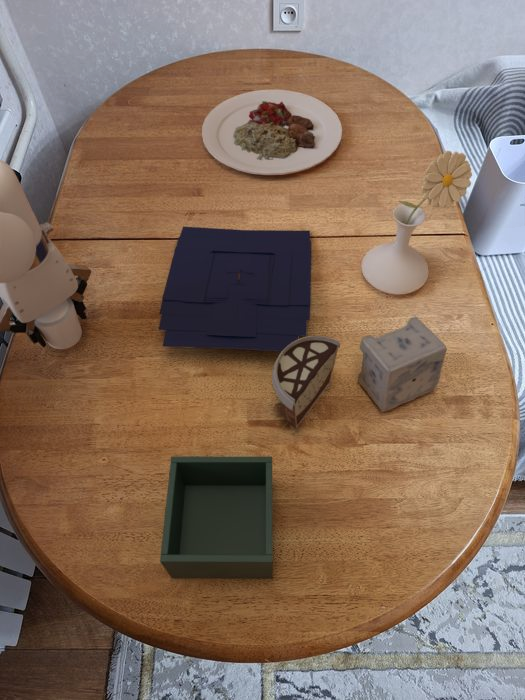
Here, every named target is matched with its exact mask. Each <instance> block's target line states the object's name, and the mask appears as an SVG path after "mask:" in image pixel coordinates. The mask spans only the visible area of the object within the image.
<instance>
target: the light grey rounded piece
mask: <svg viewBox="0 0 525 700" xmlns="http://www.w3.org/2000/svg"><path fill="white" fill-rule="evenodd" d="M35 327H36V328H37V330H38V331H39V332H40V334H41V335H42V337H43V339H44V340H45V342H46V343H47V345H49V346H50V347H52V348H53V349H57V350H66V349H69V348H72V347H74V346H75V345H77V343H79V341H80V340H81V339H82V336H83V329H82V325H81V323H80V320H79V316H78V315H77V313H76V310H75V307H74V304H73V302H72V300H71V298H70V297H69V298H67V299H66V300H64V301H63V302H61V303H60V304H58V305H57V306H55V307H54V308H52V309H50V310H49V311H47V312H46V313H44V314H43V315H41V316H39V317H38V318H36V319H35Z"/></svg>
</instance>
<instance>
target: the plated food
mask: <svg viewBox="0 0 525 700" xmlns="http://www.w3.org/2000/svg"><path fill="white" fill-rule="evenodd" d="M342 135H343V128H342V122H341V120H340V118H339V116H338V115H337V113H336V112H335V111H334V110H333V109H332V108H331V106H329V105H328V104H326V103H325V102H323V101H322V100H320V99H318V98H316V97H314V96H311V95H308V94H305V93H302V92H299V91H293V90H286V89H260V90H258V89H257V90H252V91H247V92H244V93H239V94H237V95H235V96H232V97H230V98H227V99H226V100H223V101H222V102H221V103H218V104H217V105H216V106H215V107H214V108H212V109H211V110H210V112H209V113H208V114H207V115H206V117H205V119H204V121H203V124H202V126H201V139H202V142H203V145H204V147H205V148H206V150H207V152H208V153H209V154H210V155H211V156H212V157H213V158H215V160H217V161H218V162H220V163H222V164H223V165H225V166H227V167H229V168H231V169H234V170H236V171H238V172H243V173H247V174H251V175H260V176H281V175H289V174H294V173H295V174H296V173H299V172H302V171H306V170H309V169H311V168H314V167H316V166H317V165H320V164H322V163H323V162H324V161H326V160H327V159H329V158H330V157H331V156H332V155H333V153H334V152H335V151H336V150H337V149H338V147H339V145H340V143H341V141H342Z"/></svg>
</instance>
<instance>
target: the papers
mask: <svg viewBox="0 0 525 700" xmlns="http://www.w3.org/2000/svg"><path fill="white" fill-rule="evenodd" d="M175 245H176V246H175V248H174V252H173V255H172V258H171V259H172V260H171V264H170V267H169V271H168V275H167V279H166V282H165V286H164V290H163V294H162V297H161V304H160V309H159V313H158V315H160V321H159V325H158V331H165V333H164V337H163V341H162V346H161V347H164V348H165V347H166V348H168V347H170V348H200V349H229V350H230V349H231V350H250V351H268V352H269V351H270V352H282V351H283V350H284V349H285V348H286V347H287V346H288V345H289V344H291V343H292V342H294V341H296V340H298V339H299V337H307V331H308V330H307V328H308V321H310V320H311V305H312V303H311V301H312V300H311V299H312V241H311V230H297V229H296V230H295V229H294V230H289V229H288V230H287V229H286V230H283V229H281V230H279V229H275V230H274V229H273V230H272V229H271V230H270V229H263V230H262V229H261V230H260V229H232V228H230V229H229V228H214V227H199V226H198V227H197V226H196V227H195V226H182V228H181V231H180V235H179V236H178V238H177V241H176V244H175Z"/></svg>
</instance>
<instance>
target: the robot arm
mask: <svg viewBox="0 0 525 700" xmlns="http://www.w3.org/2000/svg"><path fill="white" fill-rule="evenodd" d="M53 231H54V228H53V226H52V225H51V223H50V222H48V221H46V222H44V223H41V224H40V223H39V222H38V219H37V217H36V214H35V212H34V211H33V209H32V206H31V204H30V202H29V200H28V198H27V196H26V193H25V191H24V189H23V187H22V185H21V183H20V181H19V178H18V176H17V175H16V173H15V171H14V169H13V168H12V167H11V166H10V165H9V164H8V163H7V162H6V161H4V160H1V159H0V299H1V301H2V303H3V304H2V306H1V308H0V332H6V333H7V332H11V333H13V334H26V336H27V337H28V338H29V340H30V341H31V342H32V343H33V344H34V345H36V344H37V343H38V345H40V346H41V347H42V348H46V347H47V345H48V343H47V341H46V340H45V339H44V337H43V336H42V335H41V334H40V332H39V331H38V330H37V328H36V327H35V319H36V318H38V317H39V316H41V315H43V314H44V313H46V312H47V311H49V310H50V309H52V308H54V307H55V306H57V305H58V304H60V303H61V302H63V301H64V300H66V299H67V298H69V297H70V298H71V300H72V302H73V304H74V307H75V310H76V313H77V317H78V318H80V319H81V320H82V321H86V320H87V319H88V316H87V314H86V312H85V311H87V307H86V306H85V305H86V304H85V303H84V299H85V296H84V293H85V292H86V289H87V286H88V281H89V280H90V277H91V274H92V269H90V268H89V267H88V266H87V265H83V264H69V263H68V262H67V260H66V259H65V257H64V256H63V254H62V253H61V251H60V250H59V248H58V247H57V246H56V244H55V243H54V242H53V241H52V240H51V238H49V236H48V235H50V233H51V232H53ZM13 315H14V316H15V317H16V319H11V318H12V316H13Z"/></svg>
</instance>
